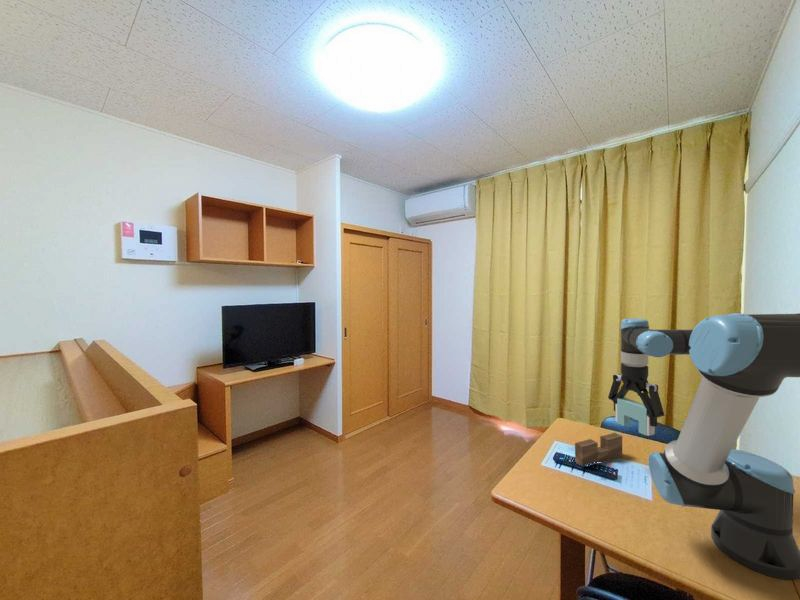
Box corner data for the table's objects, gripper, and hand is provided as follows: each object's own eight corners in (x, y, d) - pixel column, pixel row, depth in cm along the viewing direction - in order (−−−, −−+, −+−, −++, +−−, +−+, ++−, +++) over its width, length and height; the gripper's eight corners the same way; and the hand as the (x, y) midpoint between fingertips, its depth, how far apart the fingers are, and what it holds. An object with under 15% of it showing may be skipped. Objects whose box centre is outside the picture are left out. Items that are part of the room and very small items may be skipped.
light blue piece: (652, 434, 105) (653, 407, 105) (646, 435, 105) (646, 409, 104) (623, 421, 115) (623, 397, 114) (617, 423, 114) (617, 398, 113)
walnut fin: (622, 456, 121) (622, 436, 121) (582, 468, 114) (582, 446, 114) (614, 452, 124) (614, 432, 123) (575, 464, 117) (575, 442, 117)
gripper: (679, 371, 99) (678, 440, 100) (611, 355, 120) (611, 413, 122) (662, 374, 96) (662, 445, 98) (596, 357, 118) (596, 416, 119)
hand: (634, 427), depth 110 cm, fingers closed on light blue piece, 10 cm apart
